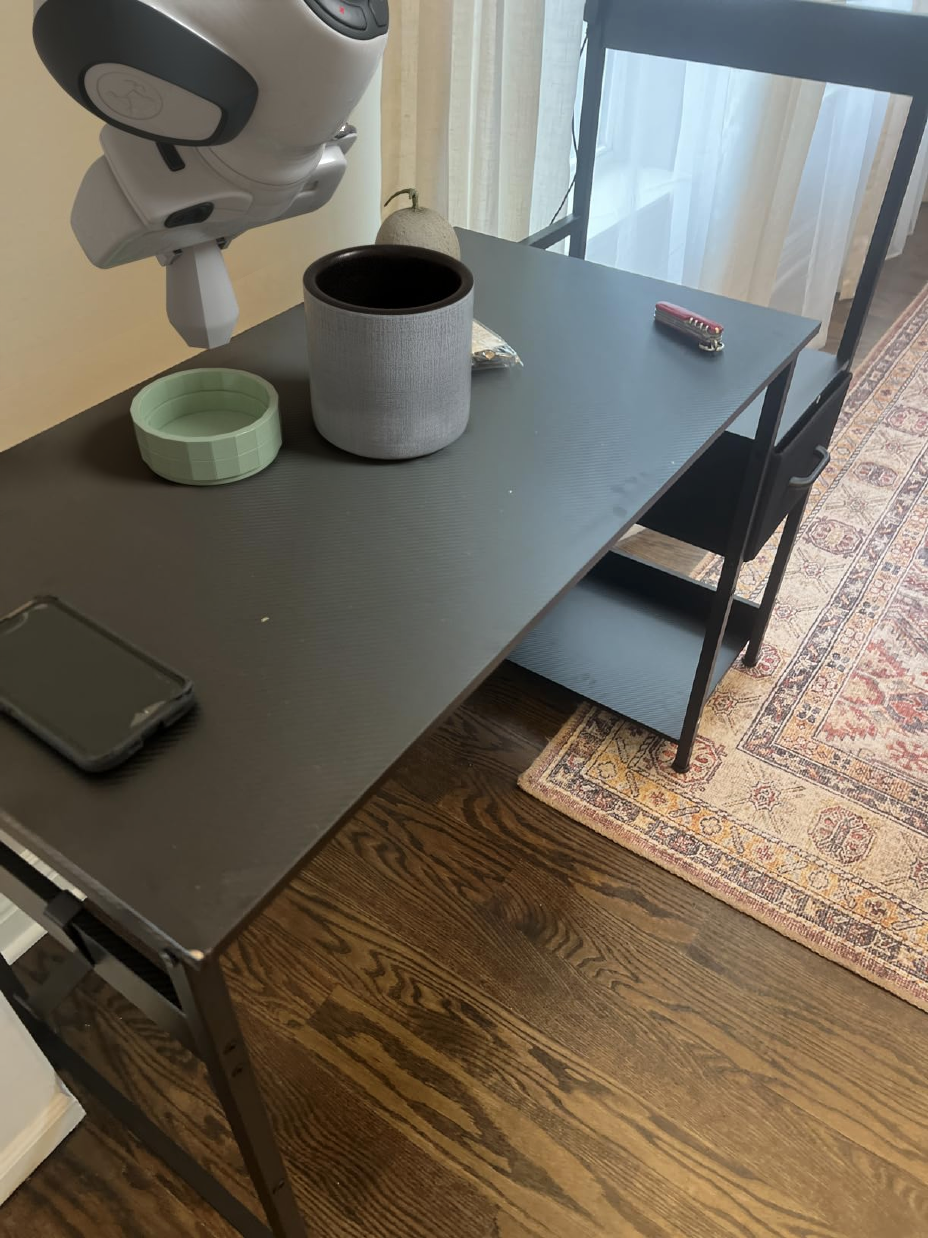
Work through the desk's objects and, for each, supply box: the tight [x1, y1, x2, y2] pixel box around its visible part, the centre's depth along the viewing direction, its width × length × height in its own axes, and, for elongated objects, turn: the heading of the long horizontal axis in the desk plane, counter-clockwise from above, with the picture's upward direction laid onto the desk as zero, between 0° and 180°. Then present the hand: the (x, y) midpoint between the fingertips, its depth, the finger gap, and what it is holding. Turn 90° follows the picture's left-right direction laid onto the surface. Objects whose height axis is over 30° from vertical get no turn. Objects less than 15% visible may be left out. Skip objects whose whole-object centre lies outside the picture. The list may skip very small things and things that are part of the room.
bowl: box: [129, 367, 284, 486], centre depth 90 cm, size 14×14×5 cm
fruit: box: [374, 187, 461, 262], centre depth 112 cm, size 10×12×15 cm
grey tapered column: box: [165, 239, 240, 350], centre depth 73 cm, size 6×6×13 cm
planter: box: [301, 243, 475, 461], centre depth 90 cm, size 16×16×16 cm
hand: (188, 249), depth 73 cm, fingers closed on grey tapered column, 3 cm apart
